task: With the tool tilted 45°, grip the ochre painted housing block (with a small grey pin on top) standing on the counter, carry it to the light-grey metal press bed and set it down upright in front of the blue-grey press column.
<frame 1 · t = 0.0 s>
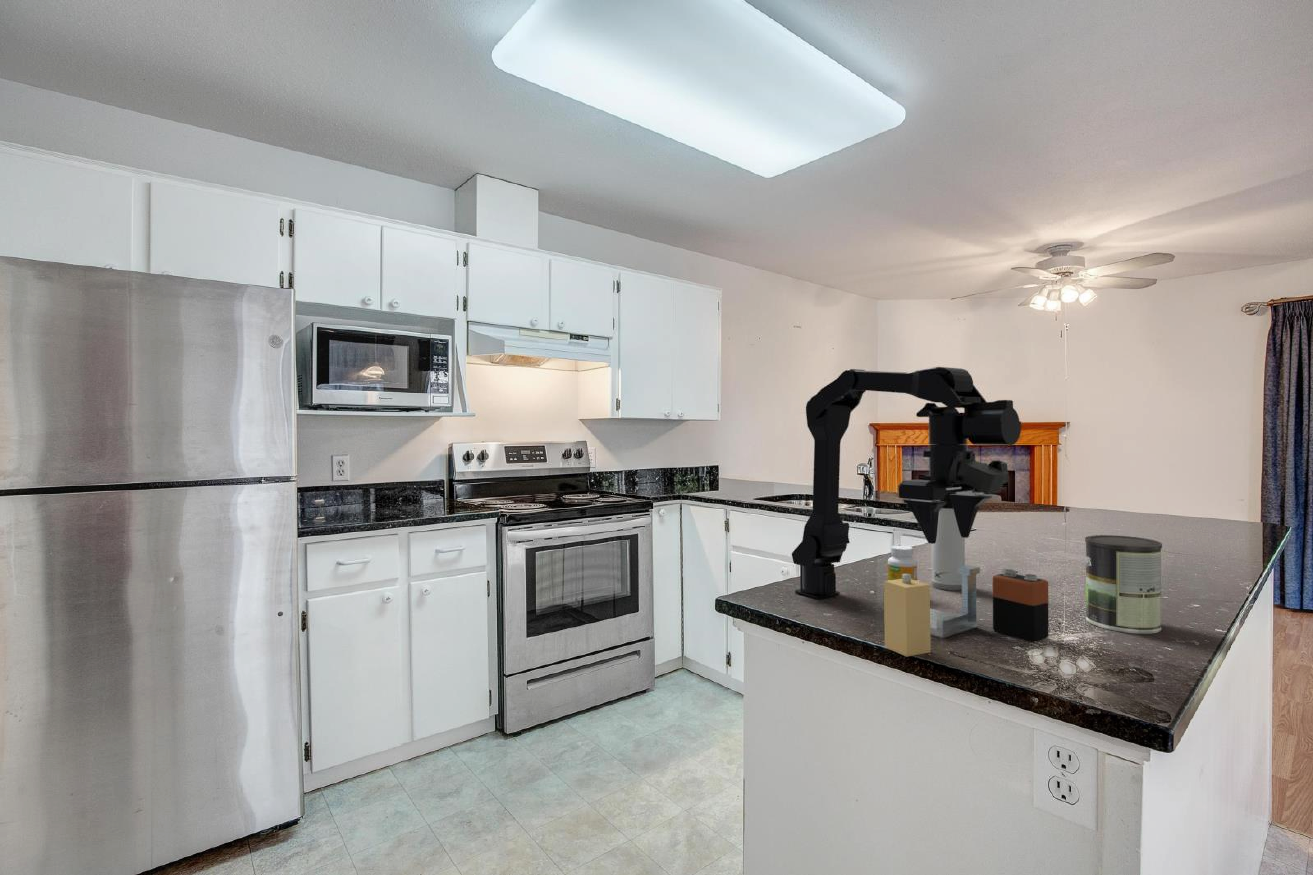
hand: (948, 540, 103), 15 cm above the worktop, tool pointing down, fingers open, 9 cm apart
battery: (1020, 636, 101), on the worktop
housing: (907, 649, 94), on the worktop
supplement bottle: (902, 597, 124), on the worktop
press bed: (934, 625, 106), on the worktop
travel mug: (948, 588, 131), on the worktop
coffee can: (1122, 625, 105), on the worktop
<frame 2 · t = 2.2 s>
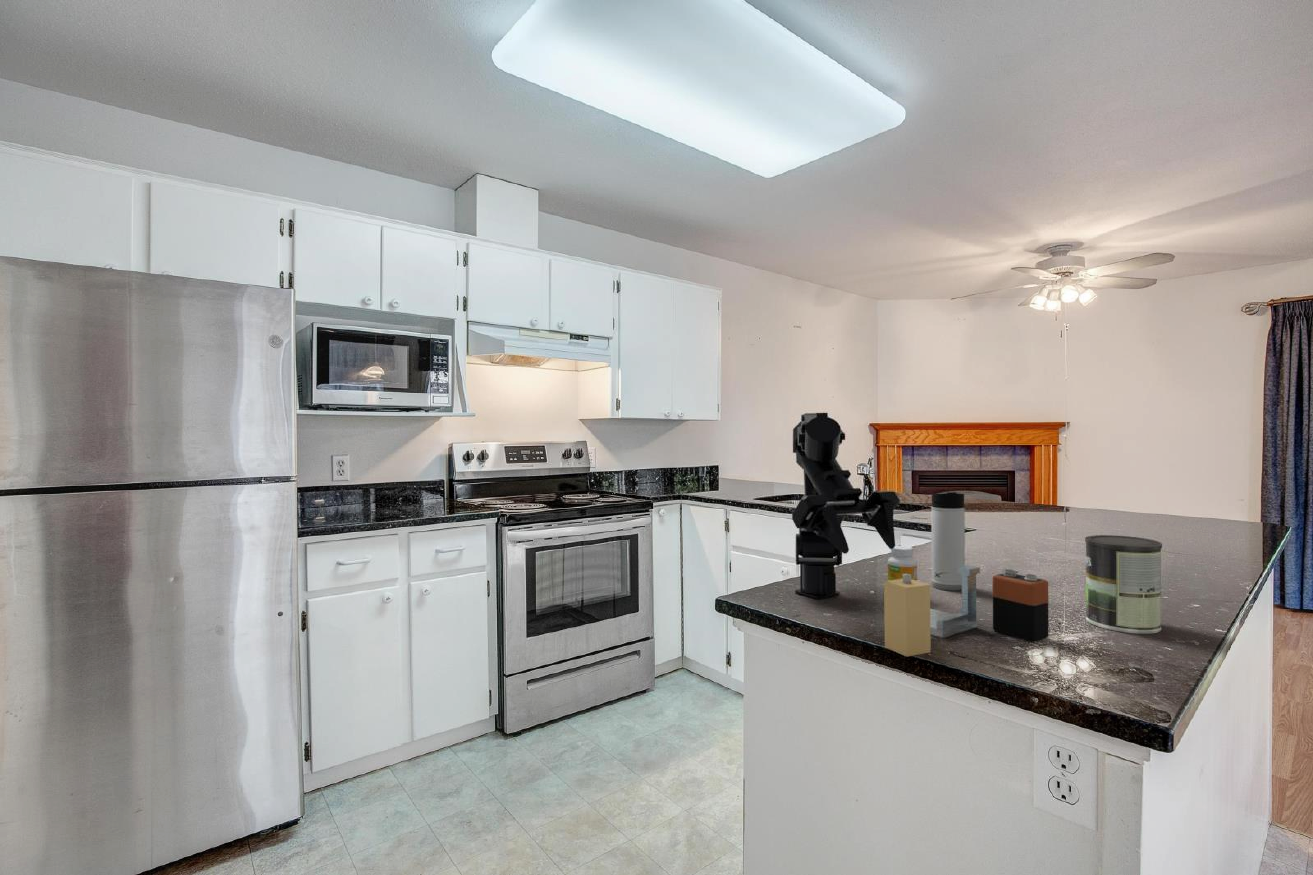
hand: (870, 550, 102), 13 cm above the worktop, tool tilted 45°, fingers open, 9 cm apart
nothing on the worktop moved.
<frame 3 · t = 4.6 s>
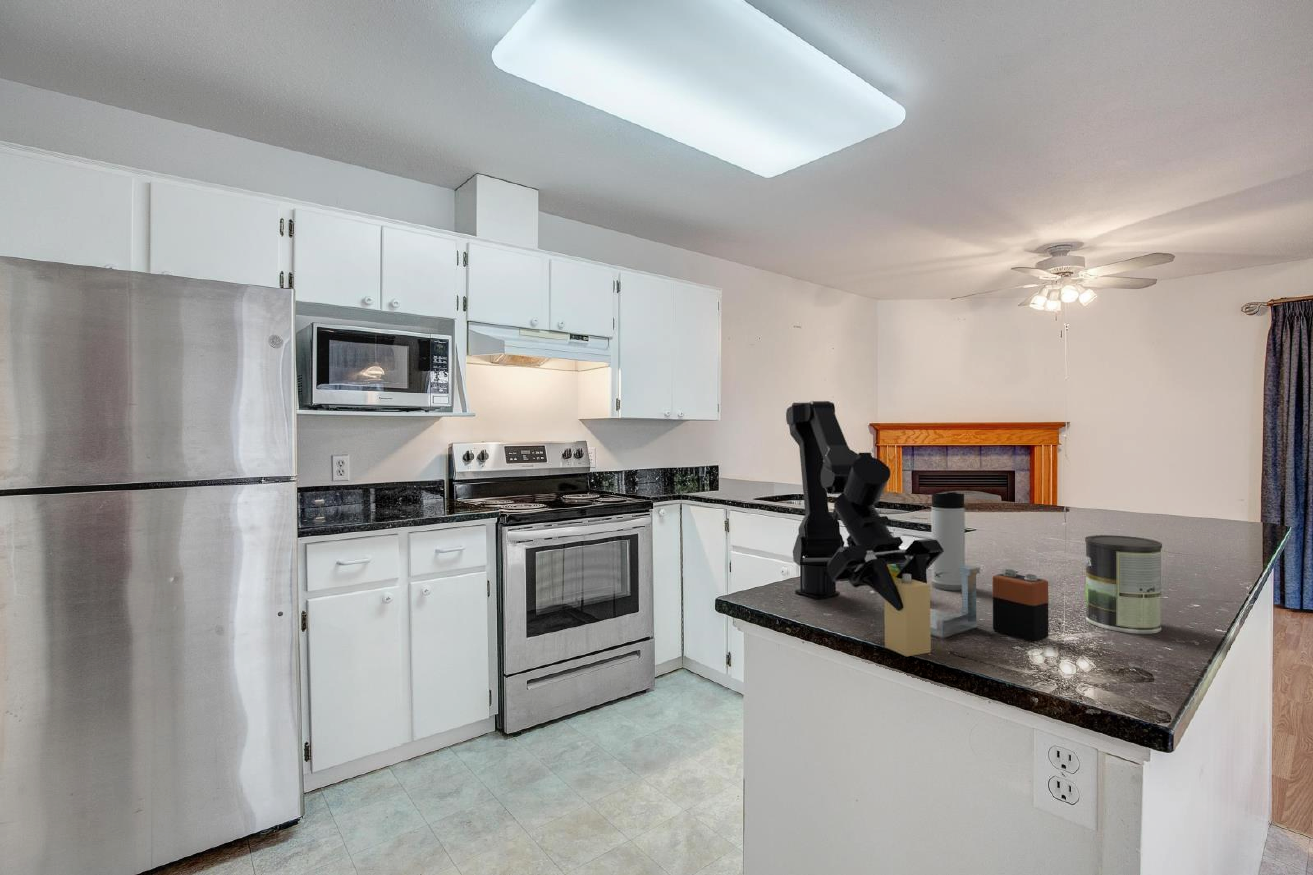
hand: (914, 607, 93), 7 cm above the worktop, tool tilted 45°, fingers closed on housing, 4 cm apart
housing: (907, 649, 94), on the worktop, touching gripper
everything else where it was.
when the fingers open (9 cm above the worktop, at t = 8.6 s): housing stays where it is, resting on press bed.
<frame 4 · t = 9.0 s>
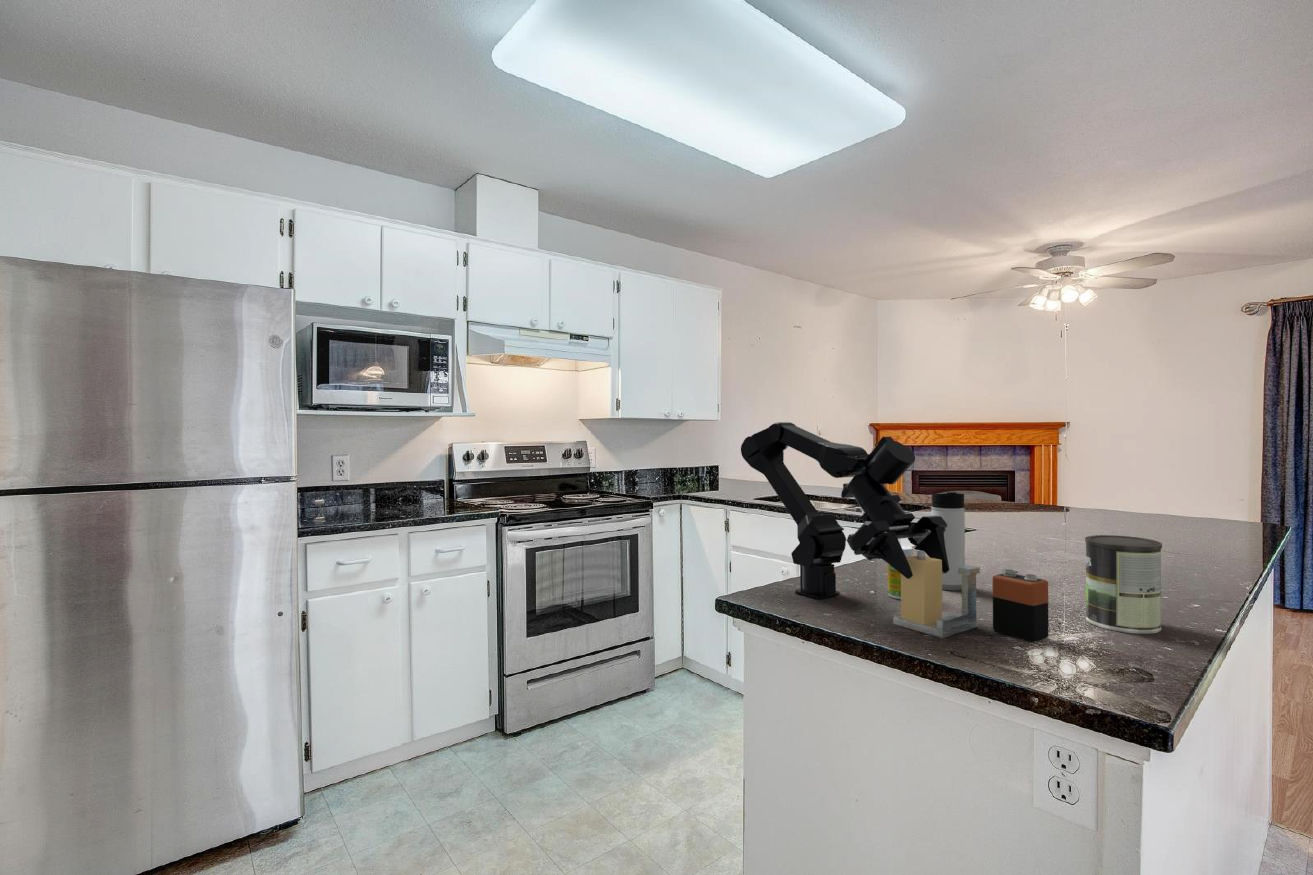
hand: (929, 574, 104), 9 cm above the worktop, tool tilted 45°, fingers open, 9 cm apart
housing: (921, 618, 106), point 1 cm above the worktop, touching press bed
everything else where it was.
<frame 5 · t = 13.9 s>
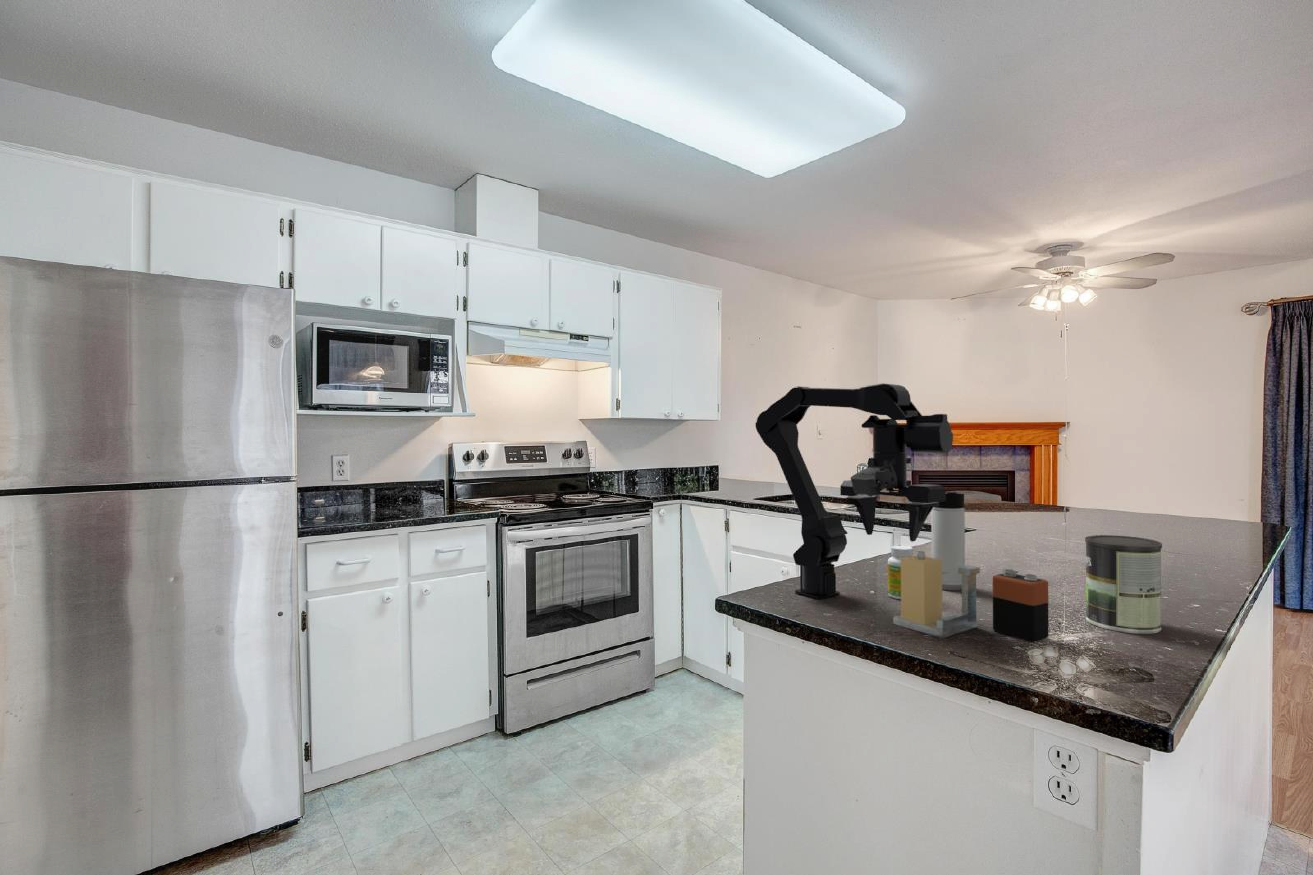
hand: (890, 537, 116), 13 cm above the worktop, tool pointing down, fingers open, 9 cm apart
nothing on the worktop moved.
at the end: housing inside the target area (1.2 cm from its centre), point 1.2 cm above the worktop; housing tilted 0°; the gripper is holding nothing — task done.
